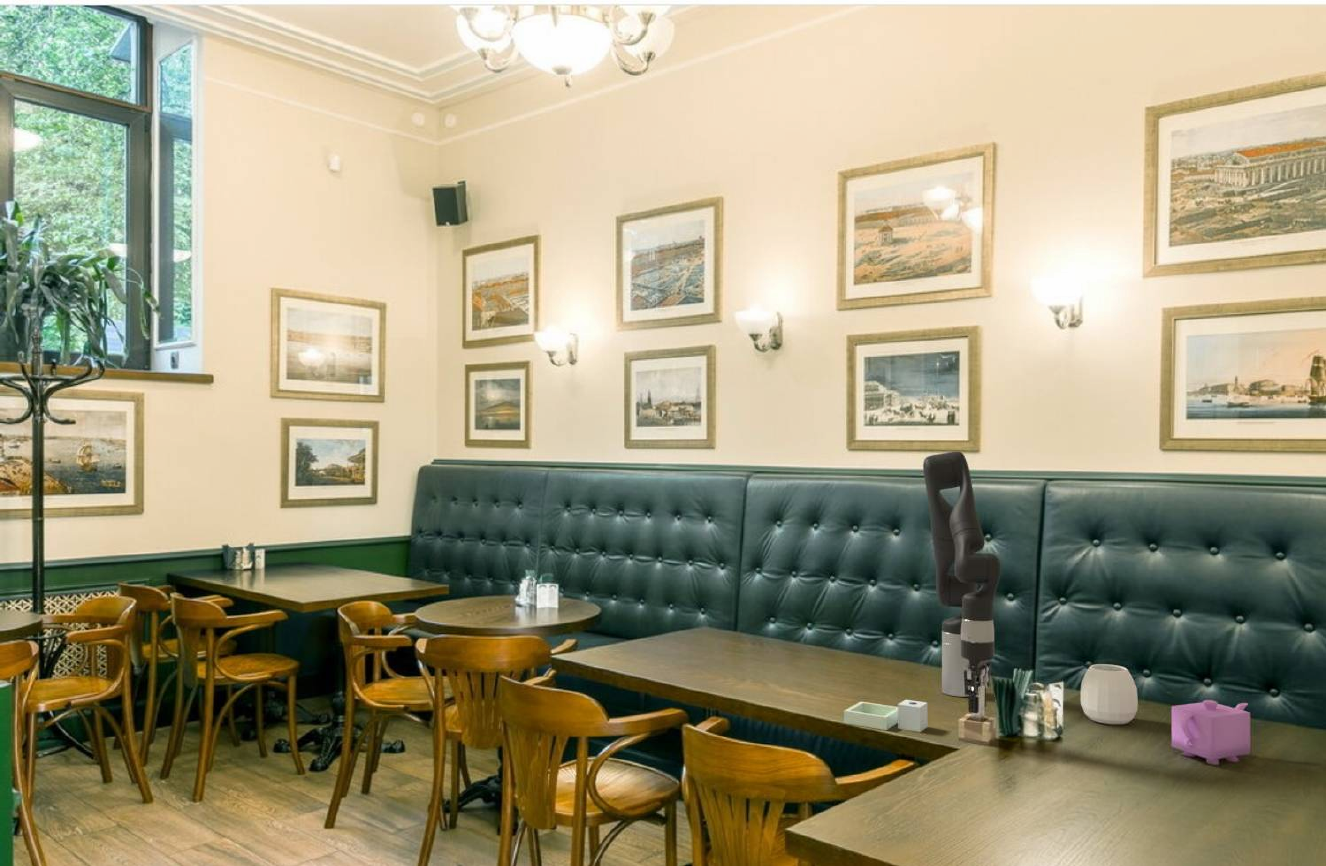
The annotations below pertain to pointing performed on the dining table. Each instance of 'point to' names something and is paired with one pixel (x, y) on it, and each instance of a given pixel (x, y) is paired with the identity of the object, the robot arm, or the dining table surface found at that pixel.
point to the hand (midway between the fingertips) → (977, 709)
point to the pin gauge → (980, 706)
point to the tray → (871, 715)
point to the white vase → (1109, 694)
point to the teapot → (1211, 730)
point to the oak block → (977, 730)
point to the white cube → (912, 715)
